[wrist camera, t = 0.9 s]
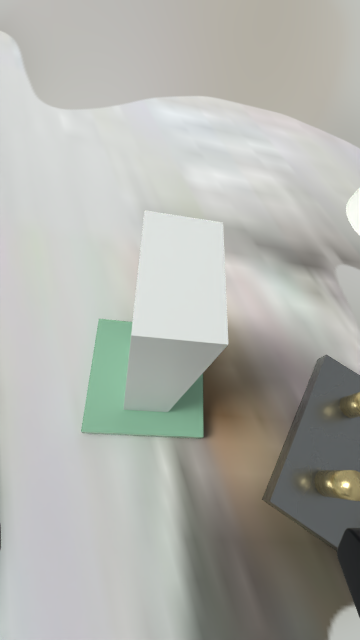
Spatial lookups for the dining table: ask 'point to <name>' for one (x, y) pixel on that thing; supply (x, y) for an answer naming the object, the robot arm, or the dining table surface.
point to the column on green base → (162, 335)
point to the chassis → (322, 456)
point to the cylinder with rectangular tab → (354, 211)
